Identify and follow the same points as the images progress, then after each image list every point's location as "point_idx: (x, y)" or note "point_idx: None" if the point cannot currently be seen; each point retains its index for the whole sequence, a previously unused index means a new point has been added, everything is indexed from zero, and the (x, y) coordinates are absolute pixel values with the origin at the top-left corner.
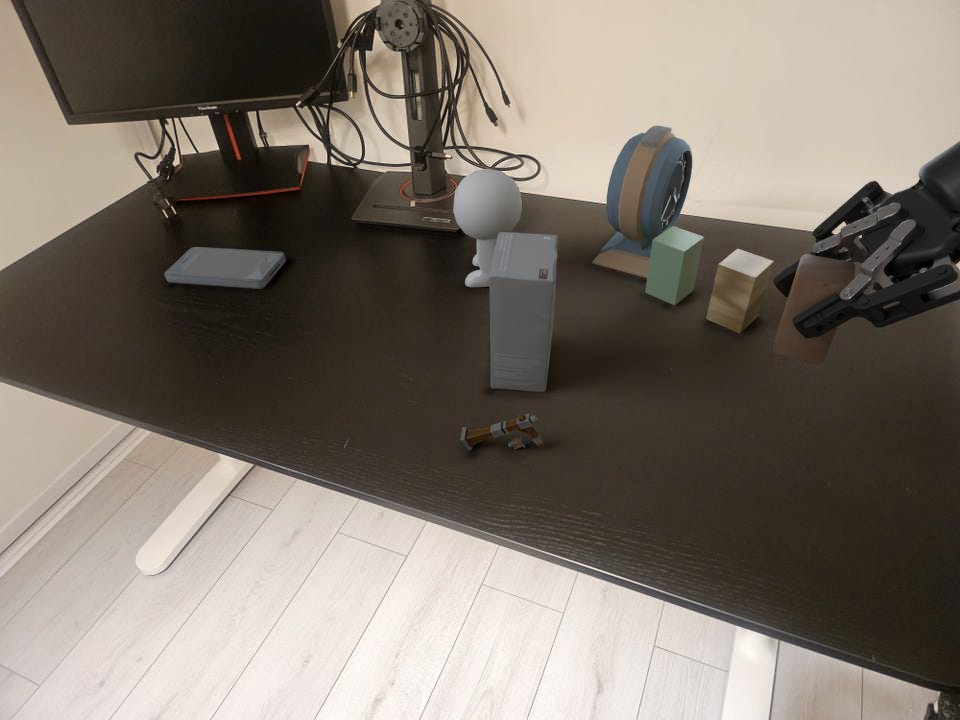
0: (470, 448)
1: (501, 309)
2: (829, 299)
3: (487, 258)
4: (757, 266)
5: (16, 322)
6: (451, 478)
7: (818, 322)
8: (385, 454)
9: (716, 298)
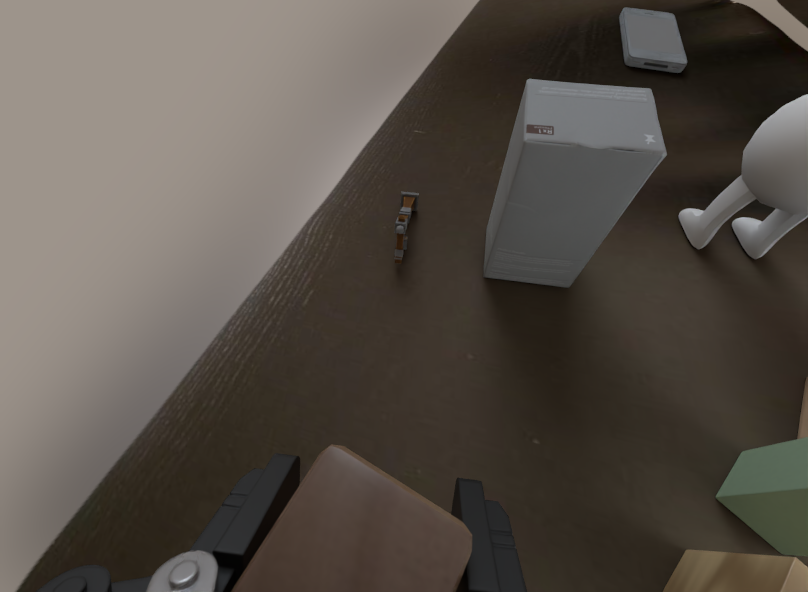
0: (400, 207)
1: (511, 139)
2: (242, 532)
3: (719, 204)
4: None
5: None
6: (369, 195)
7: (230, 495)
8: (403, 154)
9: (719, 561)
